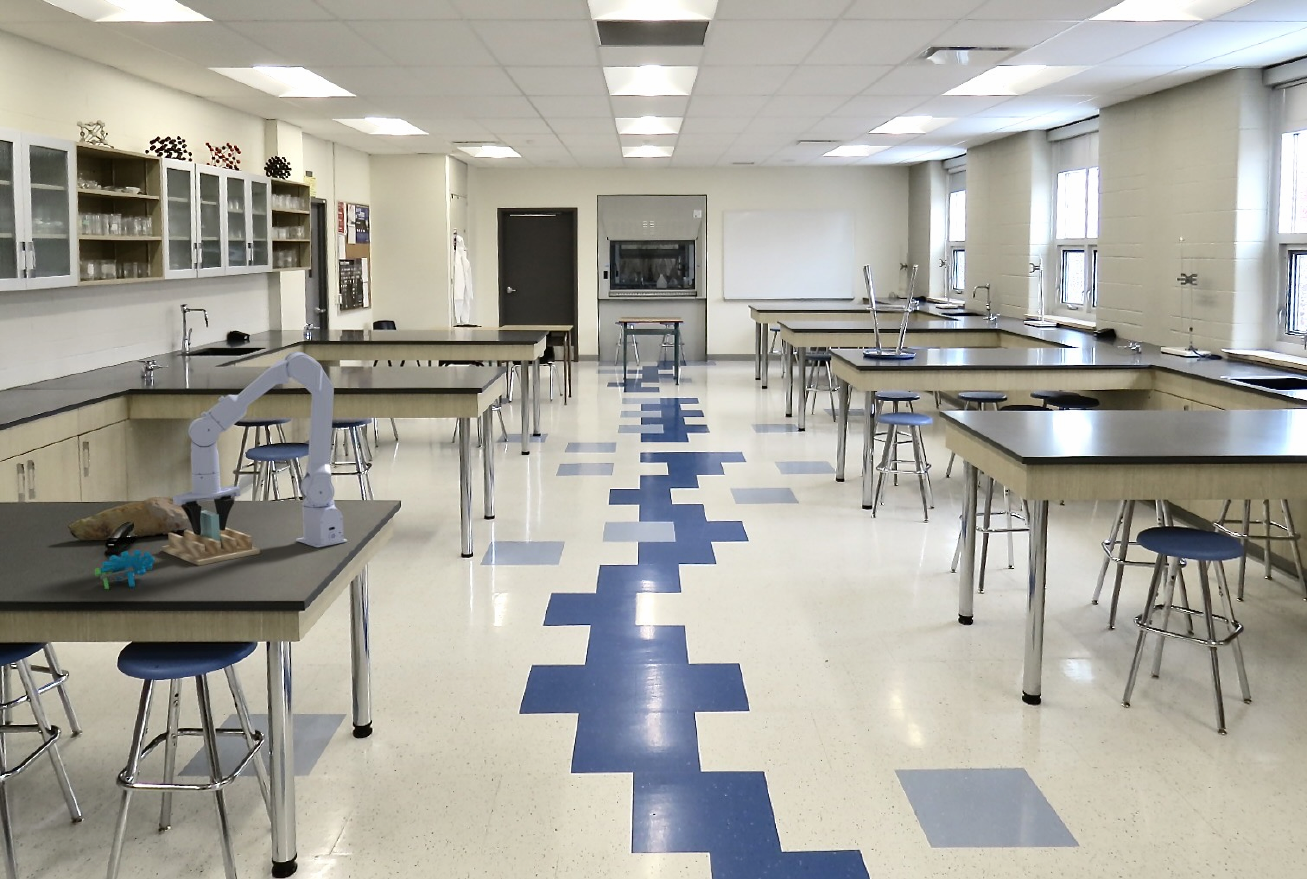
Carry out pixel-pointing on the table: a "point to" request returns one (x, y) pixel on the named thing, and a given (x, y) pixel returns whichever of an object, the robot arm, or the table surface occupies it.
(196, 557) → the rack
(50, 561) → the table surface
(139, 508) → the mineral
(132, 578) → the toy stegosaurus
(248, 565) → the table surface
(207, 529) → the teal rectangular block
